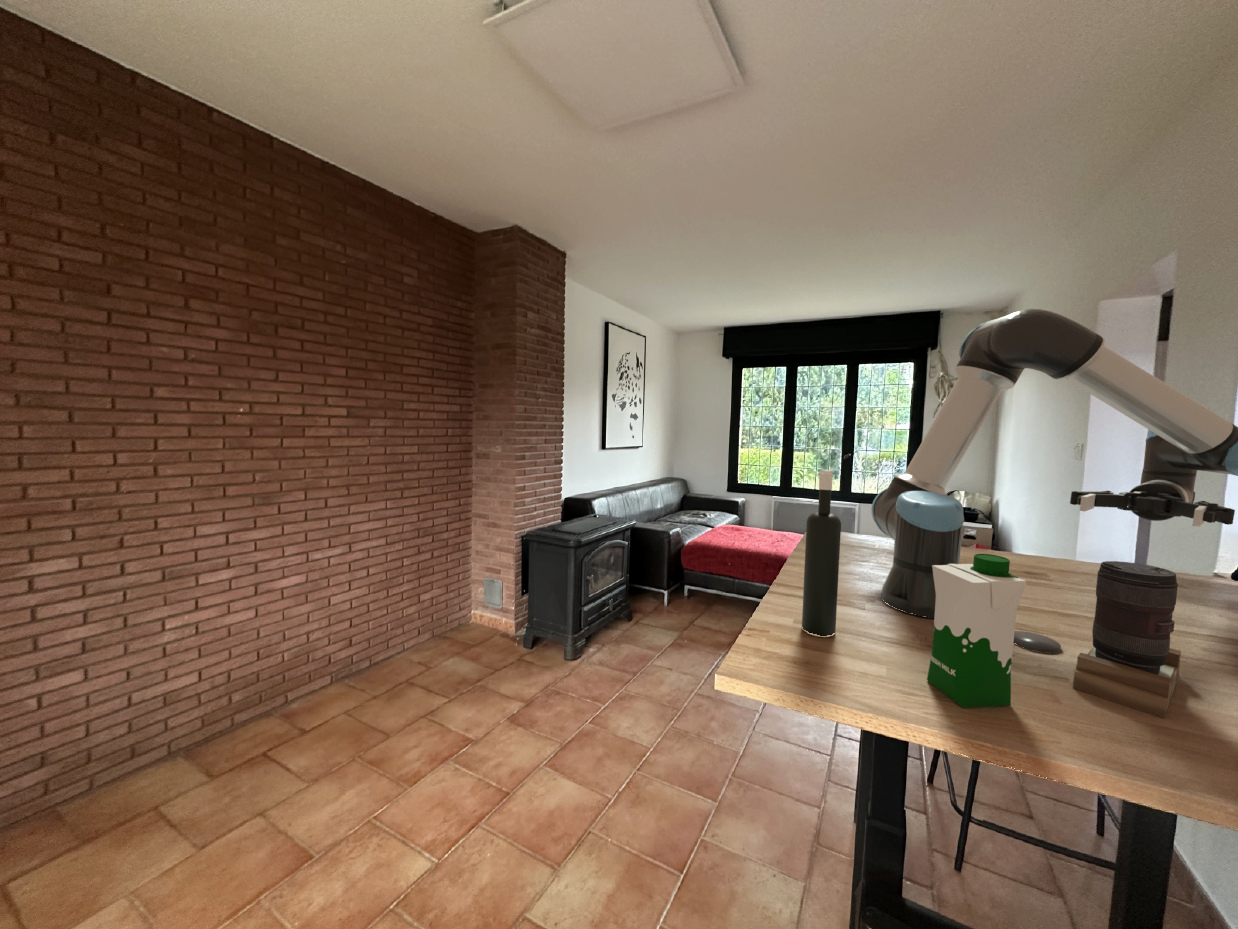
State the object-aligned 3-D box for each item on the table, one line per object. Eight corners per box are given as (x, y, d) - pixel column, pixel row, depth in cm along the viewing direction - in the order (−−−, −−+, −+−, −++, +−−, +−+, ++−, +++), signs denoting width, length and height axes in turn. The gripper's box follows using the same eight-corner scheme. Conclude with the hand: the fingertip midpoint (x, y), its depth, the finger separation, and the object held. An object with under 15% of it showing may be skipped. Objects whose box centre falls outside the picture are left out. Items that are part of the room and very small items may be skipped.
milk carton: (1023, 709, 66) (1036, 567, 64) (960, 712, 65) (972, 568, 63) (971, 675, 74) (981, 548, 72) (915, 677, 74) (924, 549, 72)
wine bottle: (835, 627, 91) (843, 469, 88) (835, 640, 86) (843, 473, 82) (802, 622, 93) (810, 468, 90) (800, 634, 88) (807, 471, 85)
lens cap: (1015, 650, 83) (1015, 644, 83) (1002, 633, 89) (1003, 628, 89) (1067, 658, 80) (1068, 652, 80) (1050, 640, 87) (1051, 635, 86)
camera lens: (1142, 656, 75) (1153, 562, 73) (1182, 683, 67) (1195, 579, 66) (1077, 647, 78) (1086, 557, 76) (1108, 673, 70) (1120, 572, 68)
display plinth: (1164, 718, 64) (1168, 686, 63) (1072, 687, 71) (1076, 658, 71) (1178, 677, 74) (1181, 649, 74) (1096, 653, 81) (1099, 628, 81)
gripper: (1257, 532, 86) (1250, 549, 74) (1070, 507, 106) (1041, 517, 94) (1264, 490, 85) (1258, 501, 73) (1075, 474, 106) (1046, 479, 93)
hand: (1136, 510), depth 84 cm, fingers open, 13 cm apart
